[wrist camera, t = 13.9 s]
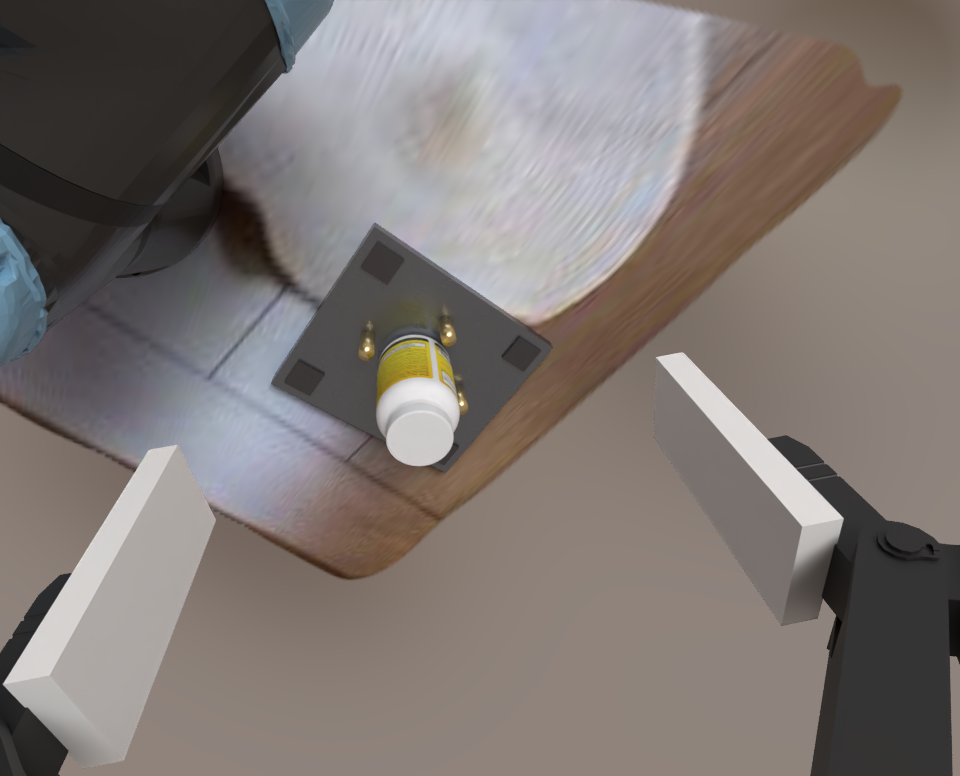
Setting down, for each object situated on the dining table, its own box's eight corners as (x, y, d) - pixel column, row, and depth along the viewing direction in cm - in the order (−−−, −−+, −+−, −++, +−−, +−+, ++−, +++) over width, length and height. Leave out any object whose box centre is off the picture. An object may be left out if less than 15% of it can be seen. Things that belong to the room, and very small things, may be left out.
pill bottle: (366, 381, 49) (359, 459, 40) (396, 320, 47) (396, 388, 37) (431, 406, 51) (439, 486, 42) (463, 349, 49) (480, 420, 39)
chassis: (273, 376, 49) (264, 401, 46) (374, 222, 44) (373, 237, 40) (444, 465, 56) (448, 493, 53) (549, 341, 51) (561, 363, 47)
